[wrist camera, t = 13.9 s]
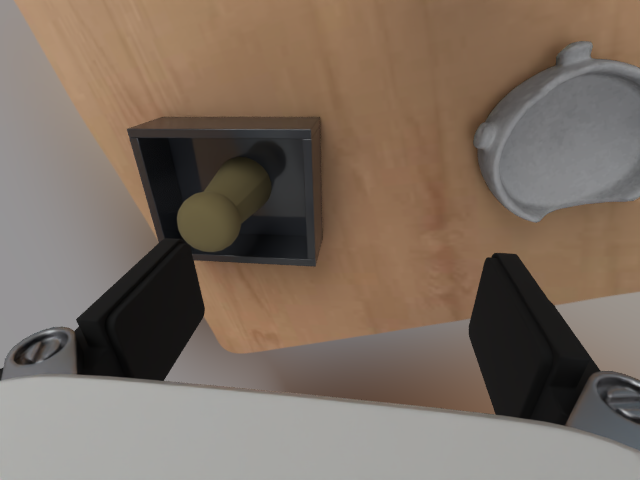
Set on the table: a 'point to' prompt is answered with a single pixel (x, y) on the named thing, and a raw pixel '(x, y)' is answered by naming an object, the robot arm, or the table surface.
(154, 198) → the open box
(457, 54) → the table surface
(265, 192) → the olive pawn
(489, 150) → the dish
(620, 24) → the table surface
